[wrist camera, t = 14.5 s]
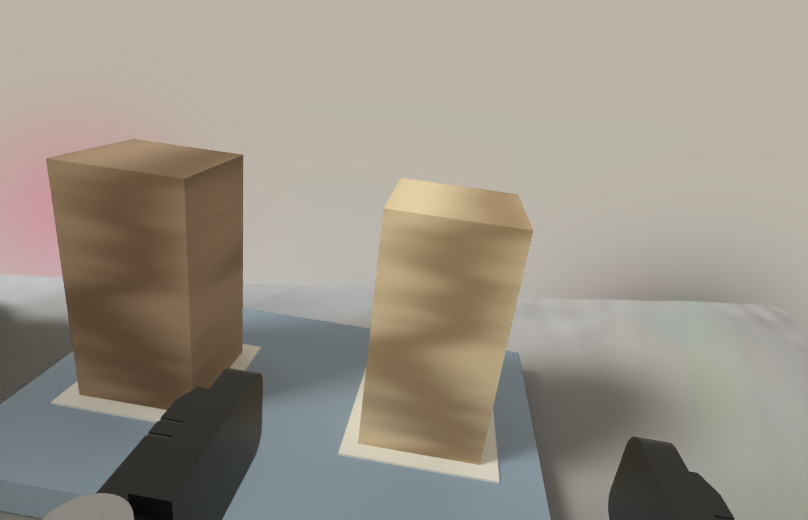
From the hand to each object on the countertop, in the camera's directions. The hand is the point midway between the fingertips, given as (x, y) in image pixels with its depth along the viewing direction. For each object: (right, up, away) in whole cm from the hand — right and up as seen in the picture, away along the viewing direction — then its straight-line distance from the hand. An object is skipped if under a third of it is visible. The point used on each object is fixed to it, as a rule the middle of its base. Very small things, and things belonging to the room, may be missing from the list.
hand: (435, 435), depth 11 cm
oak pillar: (0, -3, +12) cm, 12 cm away
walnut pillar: (-12, -1, +12) cm, 17 cm away
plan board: (-6, -4, +13) cm, 14 cm away
